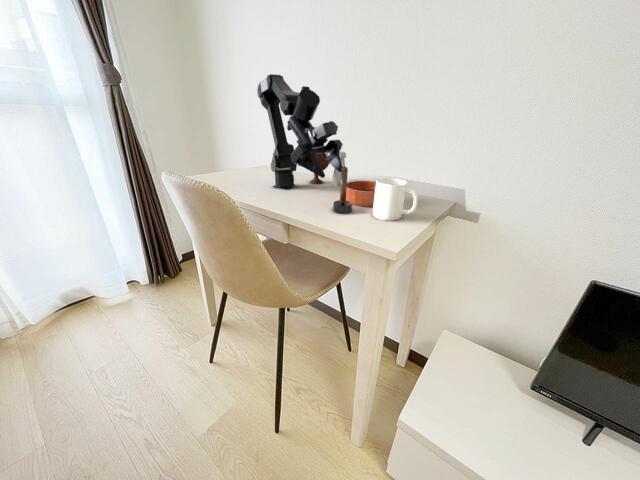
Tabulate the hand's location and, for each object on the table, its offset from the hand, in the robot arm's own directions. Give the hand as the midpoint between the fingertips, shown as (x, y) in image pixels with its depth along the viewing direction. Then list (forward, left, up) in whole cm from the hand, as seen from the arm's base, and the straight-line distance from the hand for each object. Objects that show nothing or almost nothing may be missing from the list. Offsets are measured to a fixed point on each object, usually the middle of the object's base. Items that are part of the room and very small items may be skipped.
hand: (333, 174), depth 76 cm
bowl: (+7, +12, -10) cm, 18 cm away
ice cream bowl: (-18, +25, -11) cm, 33 cm away
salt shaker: (-8, +26, -11) cm, 30 cm away
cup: (+19, +1, -11) cm, 22 cm away
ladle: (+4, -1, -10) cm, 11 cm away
